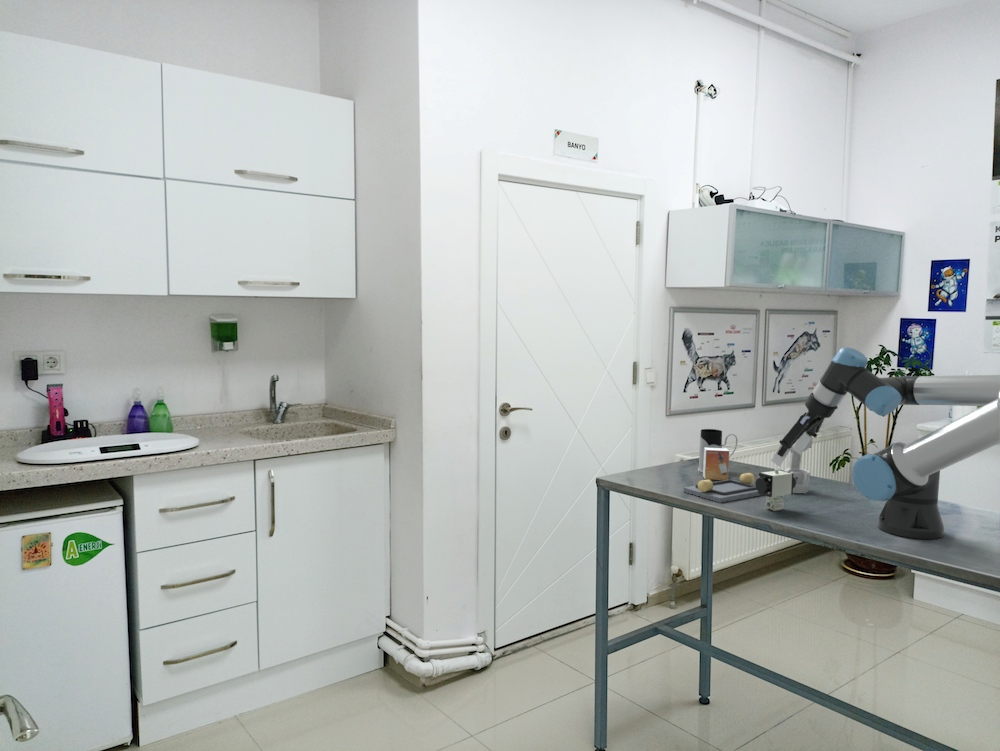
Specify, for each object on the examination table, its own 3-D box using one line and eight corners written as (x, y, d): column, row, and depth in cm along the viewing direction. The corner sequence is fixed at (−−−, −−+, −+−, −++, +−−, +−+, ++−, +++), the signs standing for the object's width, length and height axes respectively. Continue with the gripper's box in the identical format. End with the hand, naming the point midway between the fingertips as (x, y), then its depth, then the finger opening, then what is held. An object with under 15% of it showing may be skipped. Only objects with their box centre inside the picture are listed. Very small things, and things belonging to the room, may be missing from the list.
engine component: (770, 486, 235) (783, 493, 225) (773, 425, 233) (786, 430, 223) (802, 486, 235) (817, 493, 225) (805, 426, 233) (820, 430, 223)
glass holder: (694, 468, 261) (695, 428, 260) (731, 468, 262) (732, 428, 261) (702, 473, 252) (703, 432, 251) (740, 473, 253) (742, 432, 252)
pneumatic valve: (795, 509, 206) (797, 469, 205) (765, 513, 201) (767, 472, 200) (780, 504, 211) (782, 465, 210) (751, 508, 206) (753, 468, 205)
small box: (704, 479, 243) (705, 449, 242) (702, 476, 248) (703, 446, 248) (728, 480, 242) (729, 450, 241) (726, 477, 247) (727, 447, 246)
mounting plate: (731, 483, 237) (732, 468, 237) (769, 493, 224) (770, 477, 224) (683, 492, 225) (683, 475, 225) (720, 502, 212) (720, 485, 212)
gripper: (831, 383, 202) (794, 439, 213) (792, 399, 185) (755, 459, 196) (854, 398, 198) (815, 454, 209) (817, 416, 181) (777, 476, 192)
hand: (786, 457), depth 202 cm, fingers open, 13 cm apart
